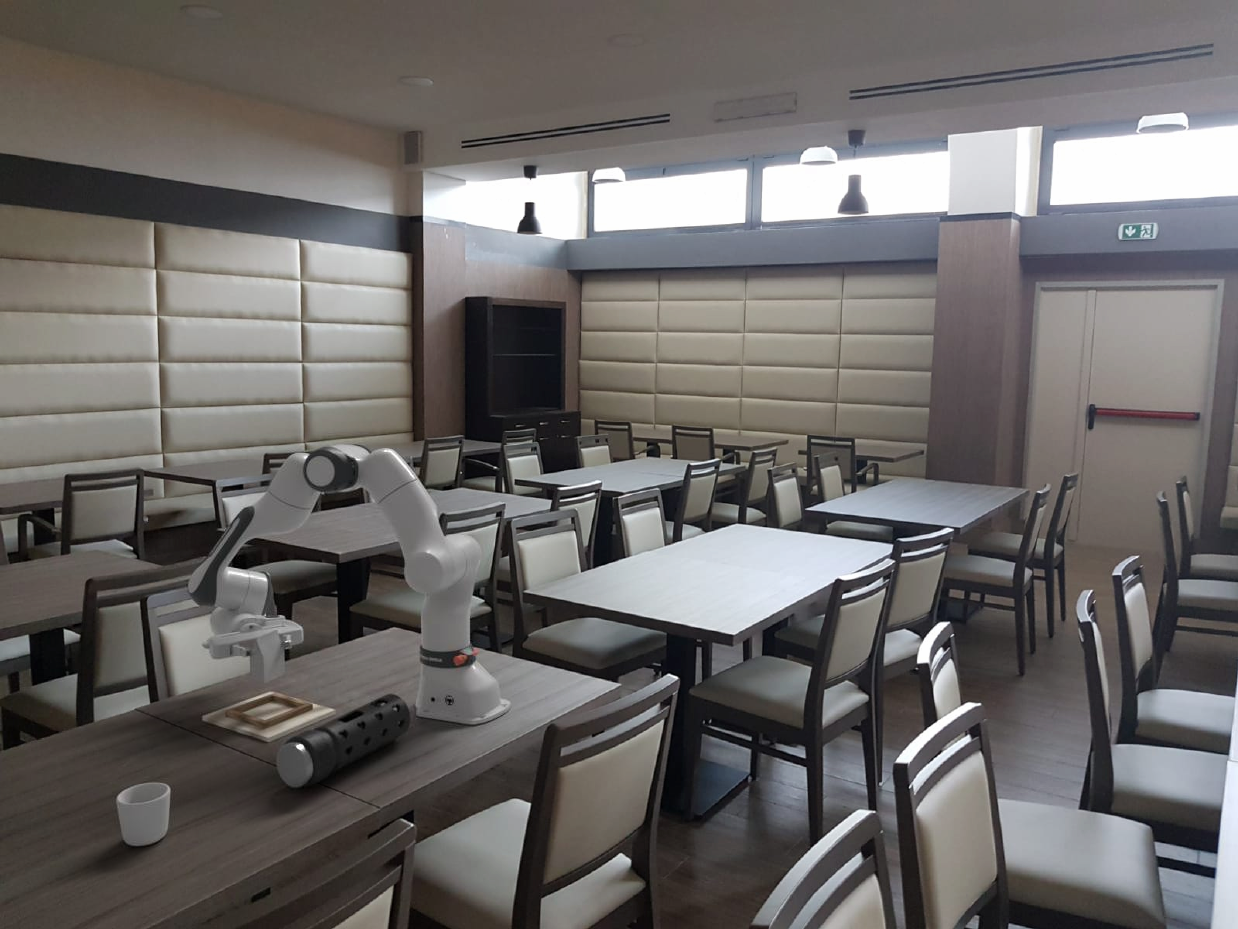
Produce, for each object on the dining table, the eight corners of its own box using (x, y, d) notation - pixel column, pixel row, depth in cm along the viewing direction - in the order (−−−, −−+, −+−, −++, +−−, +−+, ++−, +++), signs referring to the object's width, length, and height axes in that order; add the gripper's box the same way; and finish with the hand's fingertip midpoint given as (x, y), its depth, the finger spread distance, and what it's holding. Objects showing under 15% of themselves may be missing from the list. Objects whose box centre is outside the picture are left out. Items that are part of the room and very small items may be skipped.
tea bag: (284, 673, 205) (283, 630, 203) (264, 683, 198) (262, 639, 197) (271, 671, 206) (269, 628, 205) (250, 681, 199) (248, 637, 198)
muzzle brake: (412, 744, 190) (411, 696, 189) (311, 801, 165) (309, 746, 164) (377, 735, 194) (376, 688, 193) (273, 789, 169) (271, 736, 168)
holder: (335, 714, 205) (335, 704, 205) (268, 742, 190) (268, 731, 189) (270, 695, 216) (270, 686, 216) (202, 720, 201) (202, 710, 201)
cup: (138, 819, 158) (136, 775, 157) (186, 817, 158) (184, 773, 157) (109, 852, 147) (107, 805, 146) (160, 850, 148) (158, 804, 147)
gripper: (198, 629, 204) (218, 644, 193) (289, 613, 217) (312, 627, 207) (200, 656, 205) (220, 673, 194) (290, 639, 218) (313, 653, 207)
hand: (268, 649), depth 201 cm, fingers closed on tea bag, 8 cm apart
